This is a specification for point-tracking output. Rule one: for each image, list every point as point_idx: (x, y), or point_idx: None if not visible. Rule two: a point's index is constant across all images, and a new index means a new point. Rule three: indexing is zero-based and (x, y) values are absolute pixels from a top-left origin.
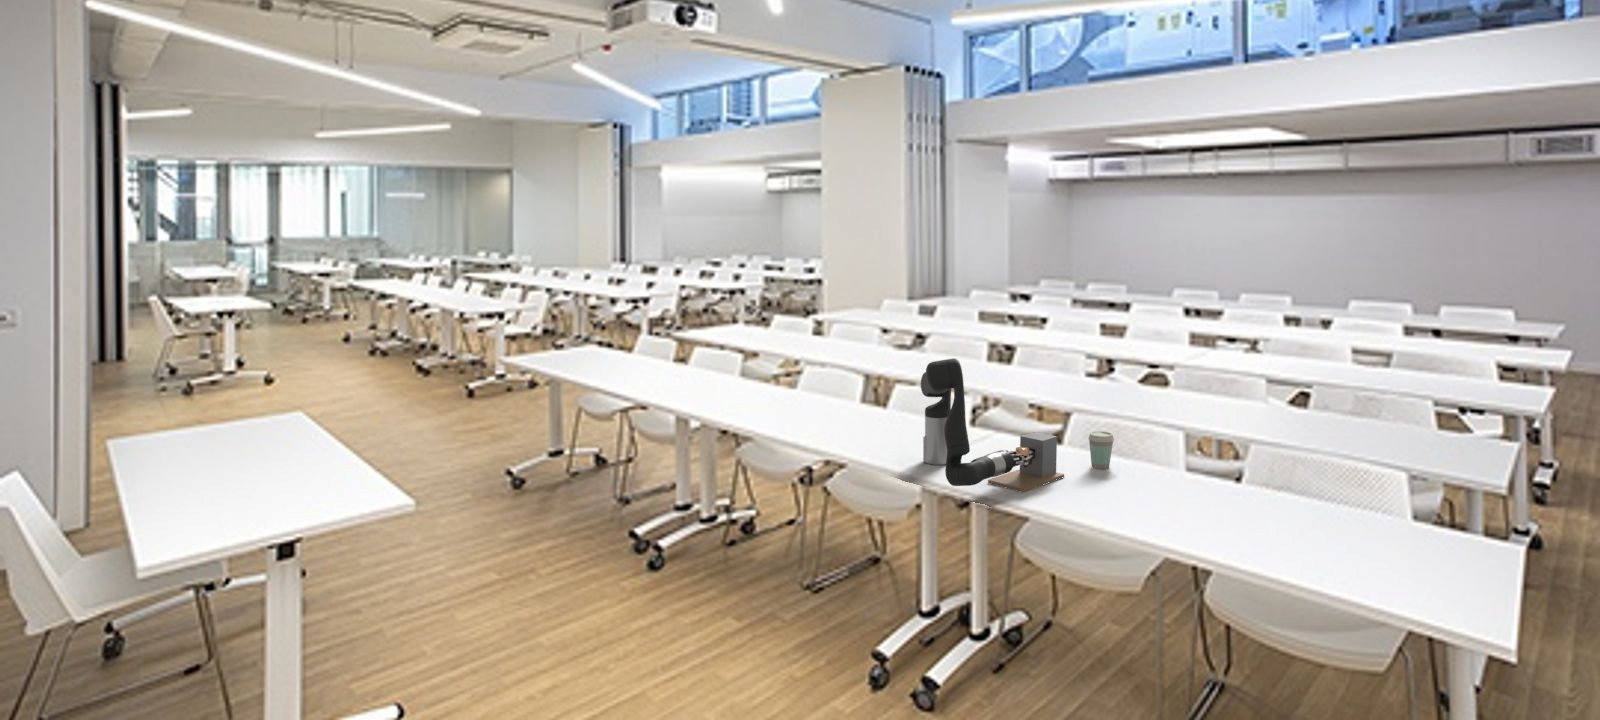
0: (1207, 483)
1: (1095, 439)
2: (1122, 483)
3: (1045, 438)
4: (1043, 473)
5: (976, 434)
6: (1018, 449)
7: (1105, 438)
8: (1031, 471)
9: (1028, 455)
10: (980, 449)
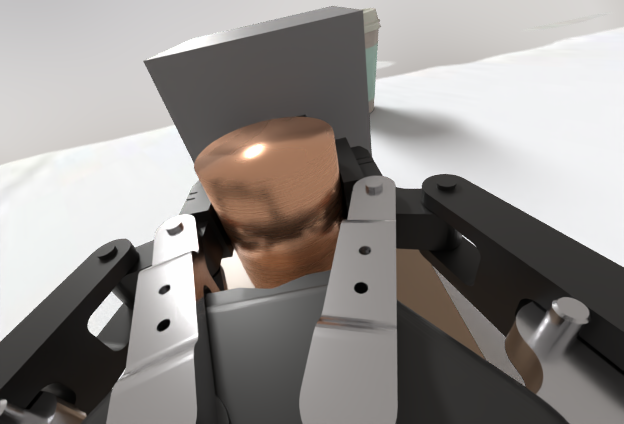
0: (551, 52)
1: None
2: (507, 115)
3: (323, 13)
4: None
5: (12, 170)
6: (253, 177)
7: (374, 16)
8: None
9: (394, 186)
10: (25, 210)
